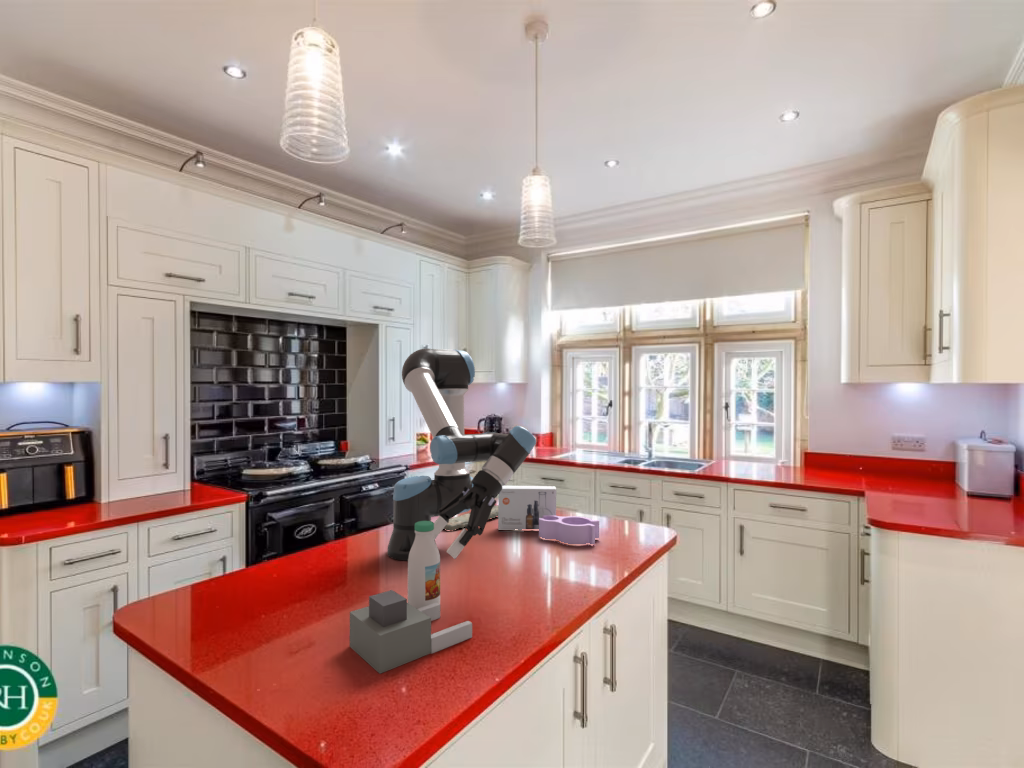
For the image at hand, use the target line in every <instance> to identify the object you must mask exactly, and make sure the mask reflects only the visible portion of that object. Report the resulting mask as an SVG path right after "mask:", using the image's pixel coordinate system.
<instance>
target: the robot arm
mask: <svg viewBox="0 0 1024 768" xmlns="http://www.w3.org/2000/svg"><path fill="white" fill-rule="evenodd" d="M401 369H402V370H401V378H402V382H403V385H404V387H405V389H406V391H408V392H411V393H412V396H413V399H414V400H415V402H416V404H417V407H418V409H419V410H420V412H421V415H422V417H423V419H424V422H425V423H426V426H427V428H428V430H429V431H430V434H431V436H432V439H431V441H430V447H429V450H430V457H431V459H432V461H433V462H434V463H435V464H437V465H438V468H437V470H435V472H434V473H433V474H434V475H433V476H434V478H433V479H432V478H431V477H430V476H429V475H416V476H415V475H414V476H409V477H405V478H402V479H400V480H398V481H397V482H396V483H395V484H394V486H393V494H392V499H393V511H392V512H393V517H392V519H393V522H392V523H393V525H392V526H393V528H392V531H391V535H390V538H389V541H388V545H387V556H388V557H389V558H391V559H393V560H398V561H408V558H409V553H410V550H411V547H412V545H413V543H414V540H415V536H416V533H415V523H416V522H419V521H432V518H435V517H437V518H436V520H435V521H434V522H433V523H434V532H433V537H434V541H435V543H436V542H437V541H436V539H437V537H438V536H439V535H440V534H441V532H442V531H444V530H443V528H444V527H445V526H446V525H447V523H449V519H451V518H455V517H456V516H457V515H459V514H462V513H468V512H469V511H470V512H469V513H470V517H469V521H468V525H467V526H466V527H465V528H462V530H461V532H460V533H459V534H458V535H457V536H456V538H455V539H454V541H453V542H452V543H451V545H450V546H449V547H448V548H447V550H446V553H447V554H449V556H451V557H452V558H453V559H454V560H456V559H457V557H458V556H459V555H460V553H461V552H462V551H463V550H464V548H465V547H466V546H467V544H468V543H469V542H470V540H471V539H472V538H473V537H474V536H476V535H478V536H481V535H482V534H483V532H484V530H485V529H486V528H485V527H486V525H487V523H488V521H489V520H488V518H489V515H490V513H491V510H492V508H493V507H494V505H496V504H497V500H496V498H497V497H498V496H499V493H500V491H501V490H502V486H507V485H506V484H507V483H508V482H509V481H510V479H511V478H512V477H513V475H514V474H515V473H516V472H517V470H518V469H519V468H520V466H521V465H522V464H523V462H524V461H525V460H526V459H527V458H528V456H529V455H530V454H531V452H532V451H533V449H534V448H535V446H536V445H537V440H536V437H535V436H534V435H533V433H531V432H530V431H529V430H528V429H527V428H526V427H524V426H520V425H516V426H514V427H513V428H511V430H509V432H508V433H498V432H496V431H495V432H493V431H492V432H491V431H486V432H483V433H474V434H472V433H467V434H466V433H465V397H464V396H465V394H466V393H467V391H469V386H470V385H472V383H473V382H474V380H475V379H474V378H476V377H475V376H476V369H475V363H474V360H473V358H472V357H471V355H470V354H469V352H467V351H466V350H460V349H449V348H448V349H446V348H445V349H444V348H421V349H417V350H415V351H413V352H412V353H410V355H409V356H408V357H406V359H405V360H404V363H403V365H402V368H401ZM471 462H472V463H474V462H484V464H483V465H482V466H481V469H480V470H478V472H477V473H476V474H475V475H474V477H472V476H471V474H470V473H471V472H470V471H469V470H468V469H467V467H466V463H471ZM436 544H437V543H436Z"/></svg>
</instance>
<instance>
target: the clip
mask: <svg viewBox="0 0 1024 768" xmlns="http://www.w3.org/2000/svg"><path fill="white" fill-rule="evenodd" d="M539 536H540V537H542V538H545V539H556V540H559V541H561V542H564V543H568V544H586V543H590V544H595V545H596V543H595V542H596V541H595V538H599V539H600V520H599V519H592V518H589V517H587V516H577V515H568V516H559V515H557V514H556V515H544V516H542V518H539V532H538V537H539Z"/></svg>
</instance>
